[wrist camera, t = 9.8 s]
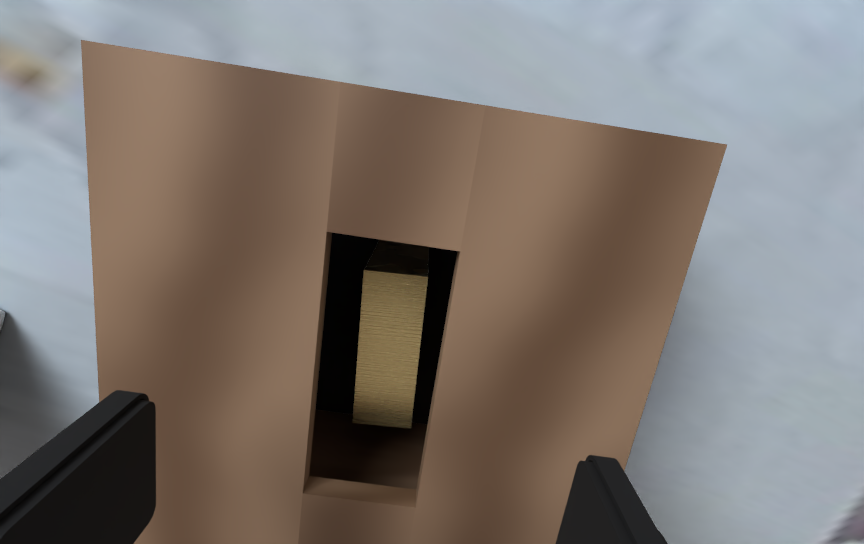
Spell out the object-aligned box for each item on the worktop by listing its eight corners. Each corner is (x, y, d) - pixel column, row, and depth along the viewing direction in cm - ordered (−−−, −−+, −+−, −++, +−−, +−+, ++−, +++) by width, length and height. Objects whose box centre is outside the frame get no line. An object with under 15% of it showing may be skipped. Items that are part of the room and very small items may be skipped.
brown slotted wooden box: (603, 140, 21) (727, 144, 12) (527, 450, 25) (577, 617, 16) (233, 81, 20) (80, 39, 11) (222, 410, 24) (107, 562, 16)
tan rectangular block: (428, 276, 16) (410, 428, 18) (429, 239, 22) (415, 356, 24) (363, 269, 16) (352, 422, 18) (381, 234, 22) (371, 352, 23)
